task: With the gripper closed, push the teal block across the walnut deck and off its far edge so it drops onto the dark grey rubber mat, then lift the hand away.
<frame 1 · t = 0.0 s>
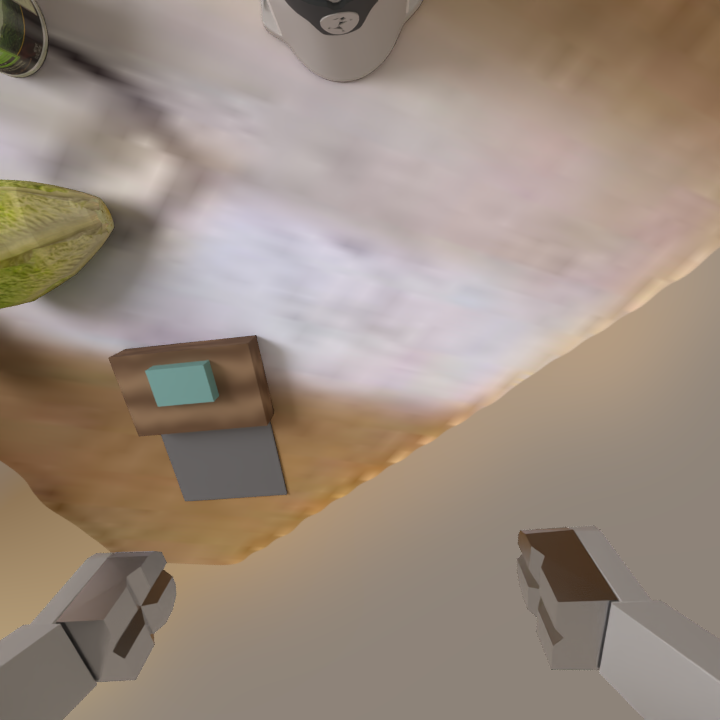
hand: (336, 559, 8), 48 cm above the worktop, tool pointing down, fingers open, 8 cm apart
teal block: (186, 380, 56), point 4 cm above the worktop, touching walnut deck
grey mat: (225, 461, 66), on the worktop
lettuce: (52, 237, 53), on the worktop
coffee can: (8, 27, 45), on the worktop
walnut deck: (201, 382, 61), on the worktop
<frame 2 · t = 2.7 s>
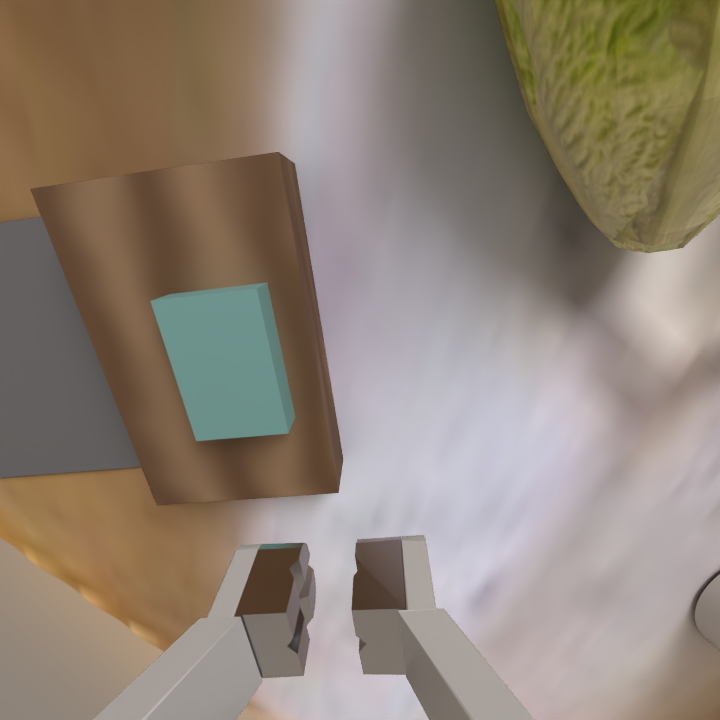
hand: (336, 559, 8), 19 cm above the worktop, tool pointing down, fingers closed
teal block: (236, 359, 23), point 4 cm above the worktop, touching walnut deck
grey mat: (31, 363, 28), on the worktop
lettuce: (605, 12, 20), on the worktop
walnut deck: (229, 342, 27), on the worktop
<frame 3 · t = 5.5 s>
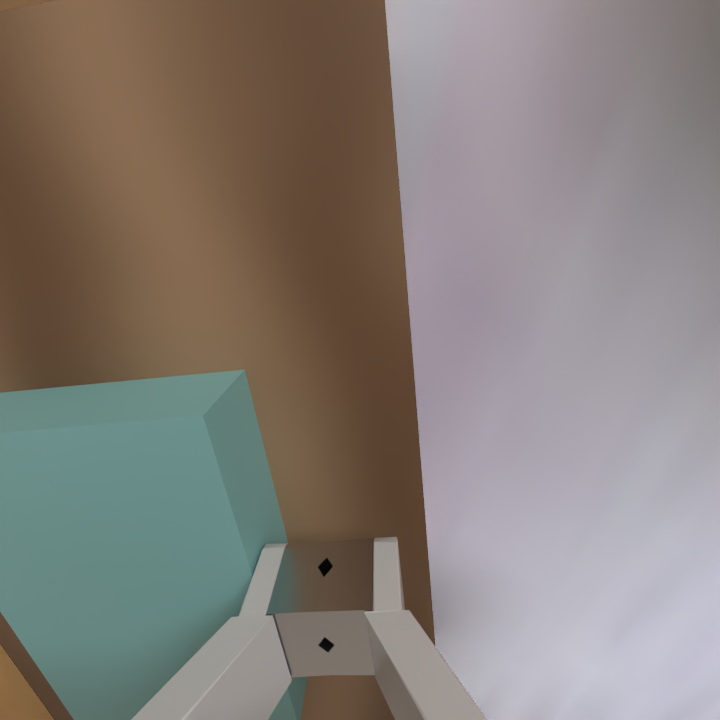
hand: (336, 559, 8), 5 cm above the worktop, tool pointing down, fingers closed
teal block: (175, 534, 10), point 4 cm above the worktop, touching walnut deck
walnut deck: (222, 448, 13), on the worktop
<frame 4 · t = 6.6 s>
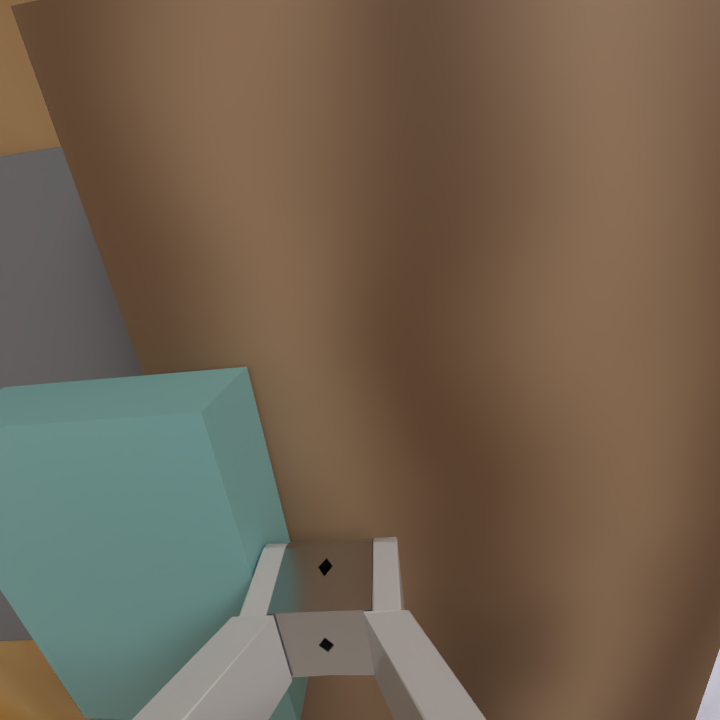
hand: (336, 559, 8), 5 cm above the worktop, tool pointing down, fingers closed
teal block: (179, 529, 10), point 4 cm above the worktop, touching gripper
grey mat: (28, 460, 14), on the worktop
walnut deck: (440, 428, 13), on the worktop
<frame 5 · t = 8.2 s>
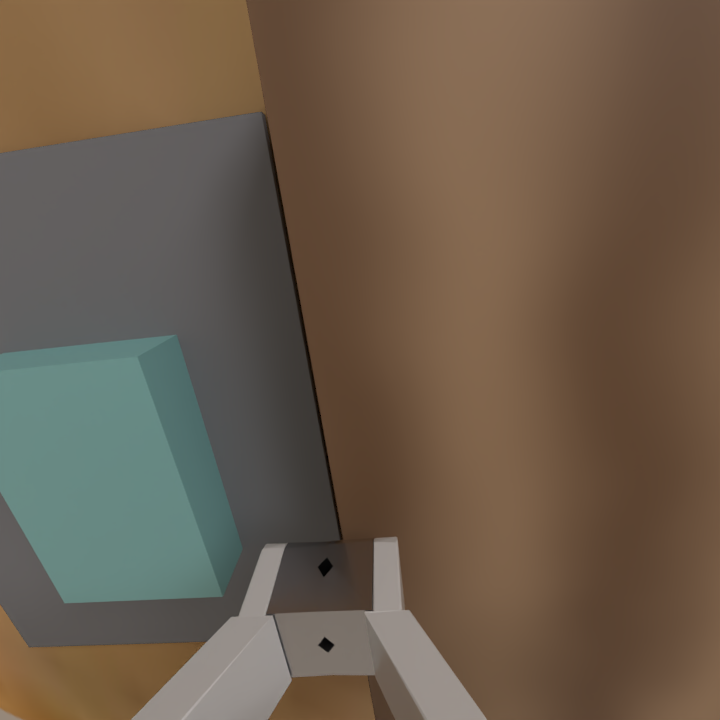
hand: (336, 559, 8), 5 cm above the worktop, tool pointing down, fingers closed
teal block: (95, 499, 11), point 2 cm above the worktop, tilted 180°, touching grey mat
grey mat: (114, 458, 14), on the worktop
walnut deck: (556, 423, 12), on the worktop
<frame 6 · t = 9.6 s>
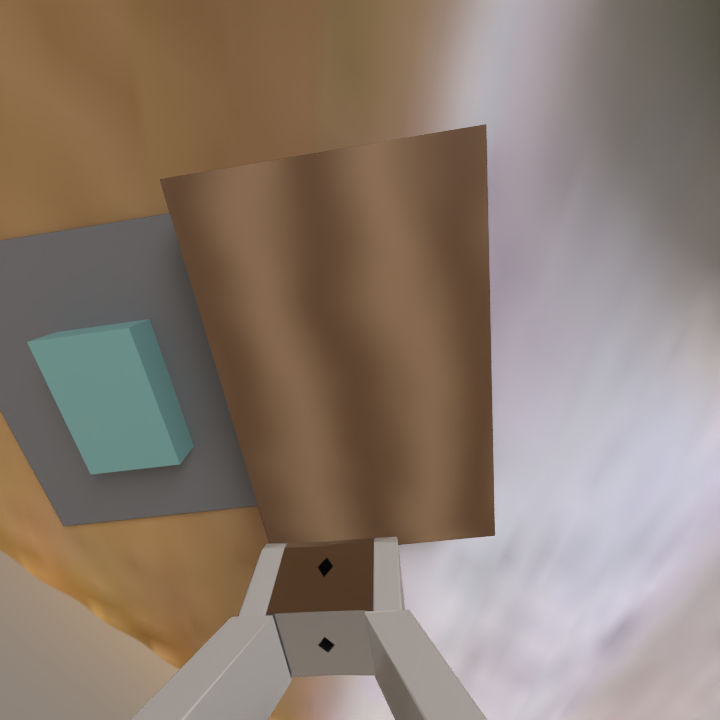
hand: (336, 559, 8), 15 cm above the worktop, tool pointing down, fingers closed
teal block: (108, 407, 22), point 2 cm above the worktop, tilted 180°, touching grey mat
grey mat: (116, 392, 24), on the worktop
walnut deck: (357, 361, 23), on the worktop
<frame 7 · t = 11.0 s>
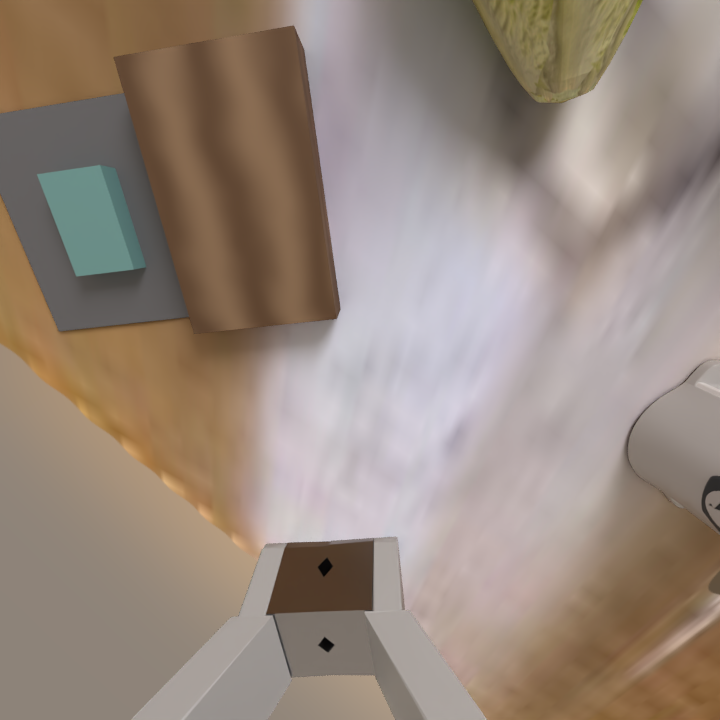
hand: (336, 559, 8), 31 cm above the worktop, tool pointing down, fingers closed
teal block: (87, 223, 34), point 2 cm above the worktop, tilted 180°, touching grey mat
grey mat: (95, 225, 36), on the worktop
walnut deck: (251, 204, 35), on the worktop
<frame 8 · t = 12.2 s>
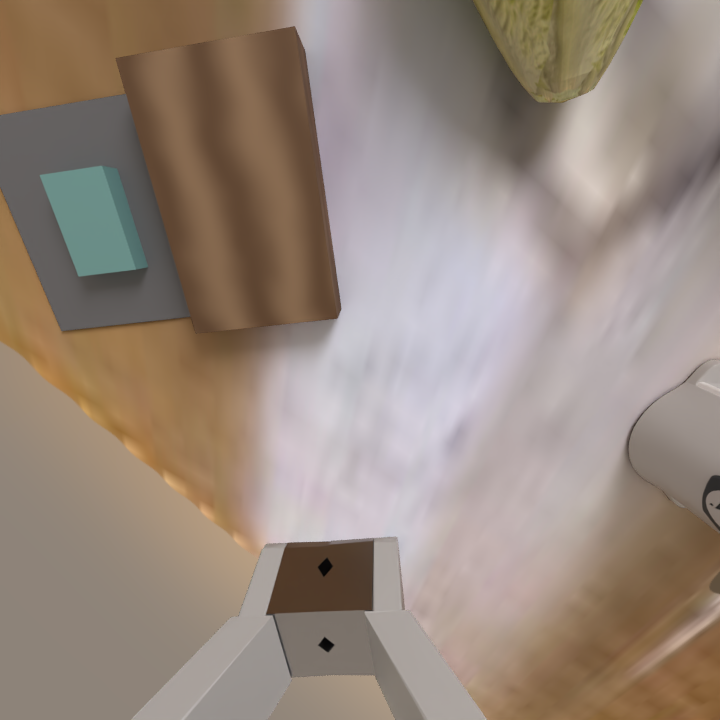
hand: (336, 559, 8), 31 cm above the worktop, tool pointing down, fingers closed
teal block: (89, 224, 34), point 2 cm above the worktop, tilted 180°, touching grey mat
grey mat: (97, 225, 36), on the worktop
walnut deck: (253, 204, 35), on the worktop
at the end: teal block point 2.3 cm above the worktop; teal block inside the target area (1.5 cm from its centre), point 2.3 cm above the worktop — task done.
